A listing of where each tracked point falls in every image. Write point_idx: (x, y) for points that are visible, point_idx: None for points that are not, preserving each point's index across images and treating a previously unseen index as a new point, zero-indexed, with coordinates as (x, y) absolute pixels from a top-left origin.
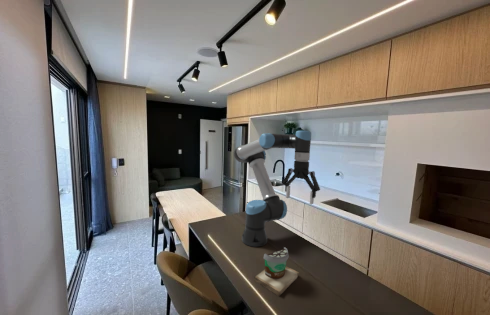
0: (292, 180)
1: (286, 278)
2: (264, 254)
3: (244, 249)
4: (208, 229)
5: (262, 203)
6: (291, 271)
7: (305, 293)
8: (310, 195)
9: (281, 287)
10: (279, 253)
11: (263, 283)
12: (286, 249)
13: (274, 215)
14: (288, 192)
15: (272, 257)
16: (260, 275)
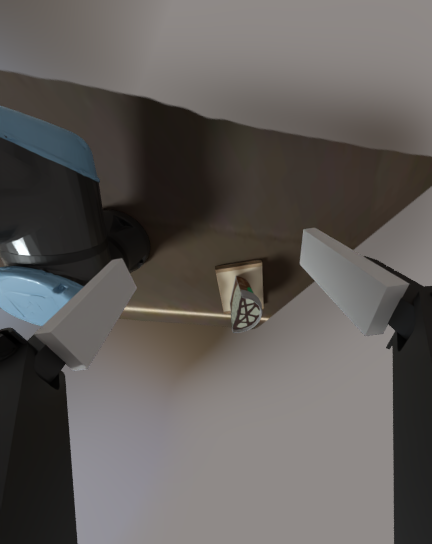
0: (50, 472)
1: (255, 286)
2: (232, 330)
3: (146, 279)
4: None
5: (55, 298)
6: (252, 269)
7: (285, 278)
8: (337, 303)
9: (261, 302)
10: (246, 311)
11: None
12: (250, 299)
13: (101, 227)
14: (111, 303)
15: (248, 328)
16: (226, 307)
